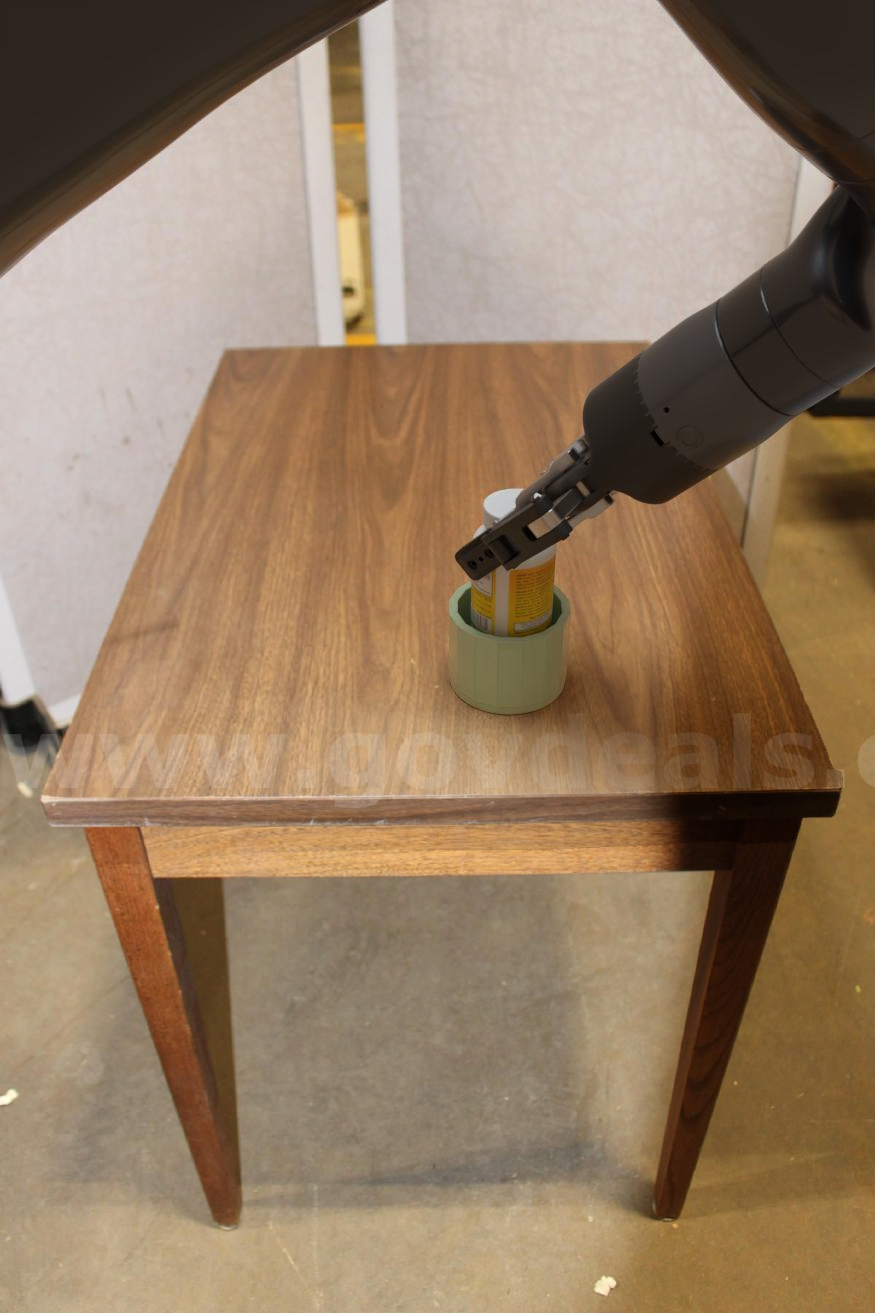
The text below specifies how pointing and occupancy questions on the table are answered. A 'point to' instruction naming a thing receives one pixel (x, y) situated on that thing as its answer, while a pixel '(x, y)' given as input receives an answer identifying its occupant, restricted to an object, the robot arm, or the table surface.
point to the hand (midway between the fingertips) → (487, 544)
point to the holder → (507, 660)
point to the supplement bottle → (513, 584)
